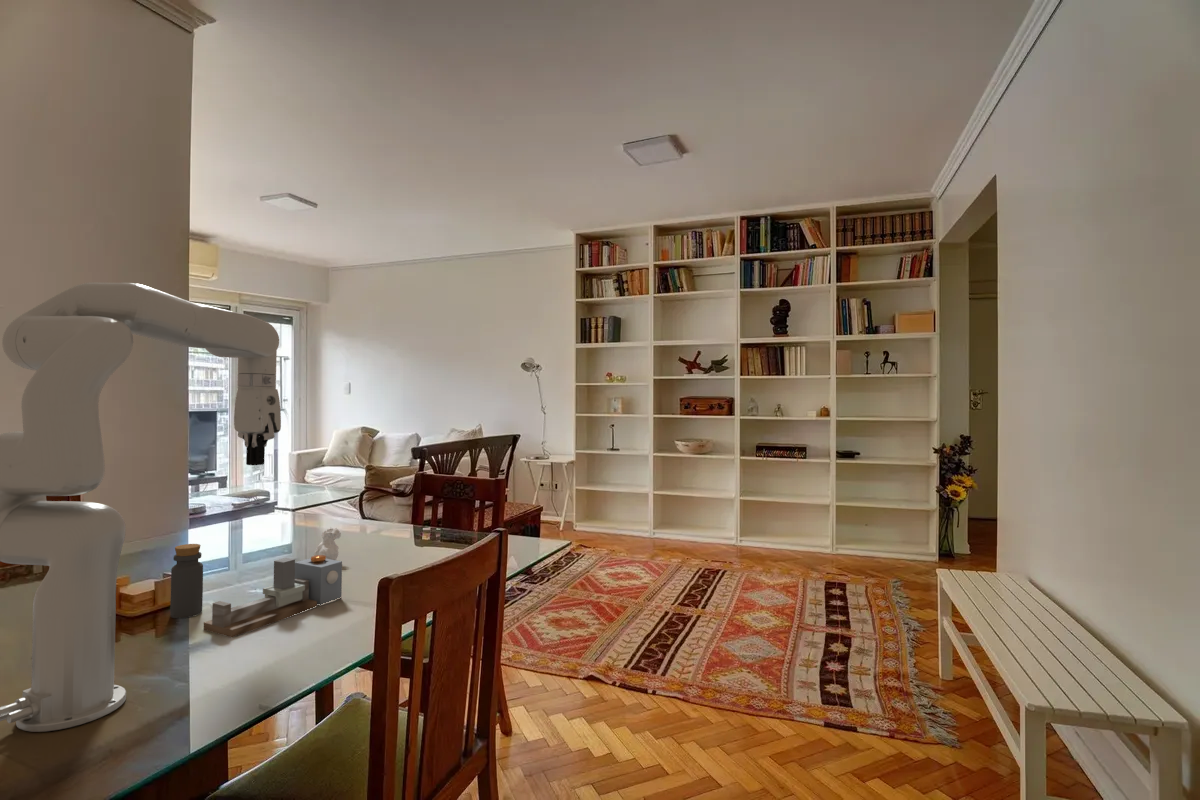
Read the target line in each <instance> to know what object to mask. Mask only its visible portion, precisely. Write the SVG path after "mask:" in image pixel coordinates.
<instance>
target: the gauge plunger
mask: <svg viewBox="0 0 1200 800" xmlns="http://www.w3.org/2000/svg"><path fill="white" fill-rule="evenodd" d="M310 558H311V562H312V563H313V564H321V563H324V561H326V556H325V555H316V556H314V555H312V556H311V557H310Z"/></svg>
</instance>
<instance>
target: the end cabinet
mask: <svg viewBox="0 0 1200 800" xmlns="http://www.w3.org/2000/svg"><path fill="white" fill-rule="evenodd" d="M297 578H300V579H305V580H309V599H310V600H314V601H317V604H320V605H321V604H323V603H326V602H329V601H331V600H335V599H337V598H340V597H341V598H342V585H343V583H342V582H343V581H342V580H343V579H342V578H343V561H341V560H337V559H336V560H331V559H326V561H324V563H321V564H313V563H312V562H311V557H310V558H306V559H302V560H299V561H295V579H297Z"/></svg>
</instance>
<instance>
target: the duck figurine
mask: <svg viewBox="0 0 1200 800" xmlns="http://www.w3.org/2000/svg"><path fill="white" fill-rule="evenodd" d="M341 535H342V533H341V532H340V530H339V528H337V527H335V528H333V527H331V526H330V527H329V528H327V530H324V531H323V532H322V535H321V538H322V541H321V542H320V543H319V544H318V545H317V547H316V549H315V551H314V554H313V556H316V555H325V556H326V559H331V560H337V559H338V557H339V546H338V544H336V541H335V540H337V539H338V540H339V539H340V538H341Z"/></svg>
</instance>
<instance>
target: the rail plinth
mask: <svg viewBox="0 0 1200 800" xmlns="http://www.w3.org/2000/svg"><path fill="white" fill-rule="evenodd" d="M295 583H297V584H302V585H305V590H304V591H303V597H302V599H301V600H298V601H295V602H292V603H289V604H286V605H283V606H280V607H277V606H276V597H275V596H269V597H265V596H264V597H262V598H259V599H256V600H253V601H249V602H246V603H243V604H240V605H237V606H233V607H232V603H229V602H225V601H221V600H219V601H215V602H212V611H211V612H212V614H211V620H207V621H204V622H203V630H204V631H206V632H209V633H210V632H211V633H215V634H218V635H222V636H225V637H228V638H235V637H238V636H240V635H243V634H245V633H249V632H252V631H254V630H257V629H260V628H263V627H266V626H268V625H272V624H274V623H277V622H279V621H283V620H285V618H286V619H288V618H287V617H289V618H291V617H293V616H292V615H294V614H297V613H300V612H302V611H305V610H307V609H310V608H313V607H315V606H317V601H314V600H310V599H309V580H305V579H300V578H297V579H295ZM300 614H301V613H300ZM297 615H298V614H297ZM290 616H291V617H290ZM294 616H295V615H294Z"/></svg>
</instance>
